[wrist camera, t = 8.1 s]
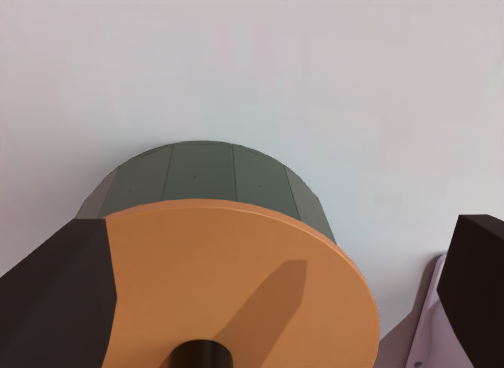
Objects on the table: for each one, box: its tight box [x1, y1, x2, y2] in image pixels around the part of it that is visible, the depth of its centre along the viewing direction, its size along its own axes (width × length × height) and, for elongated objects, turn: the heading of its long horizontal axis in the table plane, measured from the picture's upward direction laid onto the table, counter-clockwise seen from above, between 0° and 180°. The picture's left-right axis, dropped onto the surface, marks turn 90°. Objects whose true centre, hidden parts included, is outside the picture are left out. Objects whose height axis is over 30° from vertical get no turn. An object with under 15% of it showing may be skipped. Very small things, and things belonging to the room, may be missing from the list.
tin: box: [76, 141, 337, 245], centre depth 19 cm, size 12×12×6 cm
